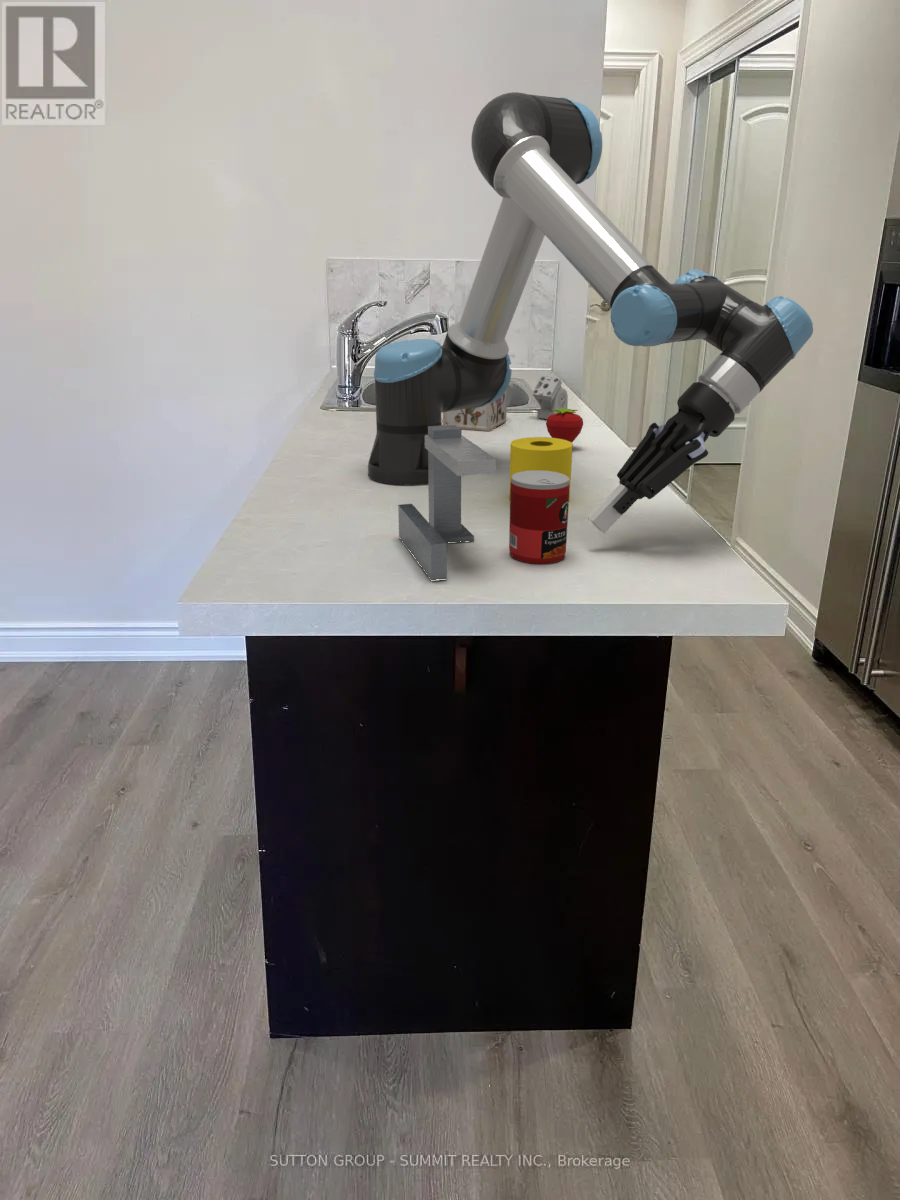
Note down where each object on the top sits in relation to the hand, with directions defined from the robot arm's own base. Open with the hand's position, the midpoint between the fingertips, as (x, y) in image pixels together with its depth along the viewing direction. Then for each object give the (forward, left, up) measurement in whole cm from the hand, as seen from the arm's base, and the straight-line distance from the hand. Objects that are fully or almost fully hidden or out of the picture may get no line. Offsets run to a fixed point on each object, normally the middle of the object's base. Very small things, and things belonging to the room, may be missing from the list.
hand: (596, 526), depth 125 cm
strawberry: (-16, +61, -4) cm, 63 cm away
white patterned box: (-40, +80, -4) cm, 89 cm away
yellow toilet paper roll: (-13, +23, -4) cm, 27 cm away
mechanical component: (-25, +92, -4) cm, 96 cm away
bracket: (-19, -7, -3) cm, 21 cm away
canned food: (-7, -4, -4) cm, 9 cm away
